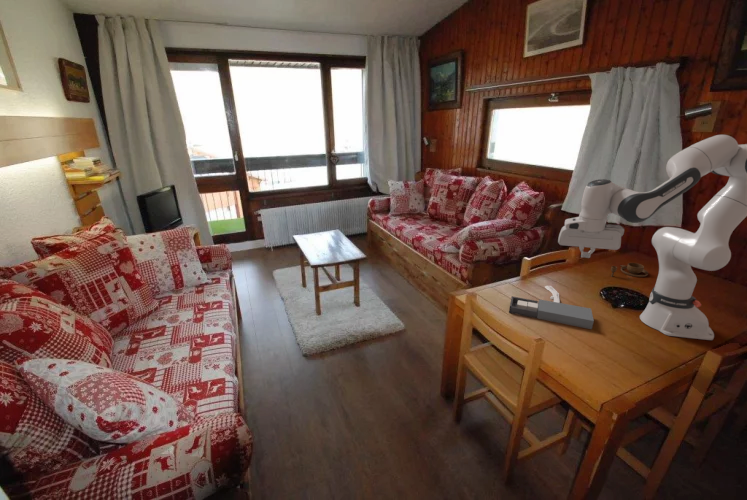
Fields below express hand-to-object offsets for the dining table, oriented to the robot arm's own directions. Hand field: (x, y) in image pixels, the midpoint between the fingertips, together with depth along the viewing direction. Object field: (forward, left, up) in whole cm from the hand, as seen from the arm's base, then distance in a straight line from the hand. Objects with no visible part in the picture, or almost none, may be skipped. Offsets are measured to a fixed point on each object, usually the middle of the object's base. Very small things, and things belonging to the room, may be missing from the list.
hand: (585, 257), depth 129 cm
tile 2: (+15, 0, -28) cm, 32 cm away
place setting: (-29, -61, -30) cm, 74 cm away
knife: (+8, -20, -29) cm, 37 cm away
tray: (+19, 0, -29) cm, 34 cm away
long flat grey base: (+3, 0, -29) cm, 29 cm away
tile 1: (+20, 0, -25) cm, 32 cm away
